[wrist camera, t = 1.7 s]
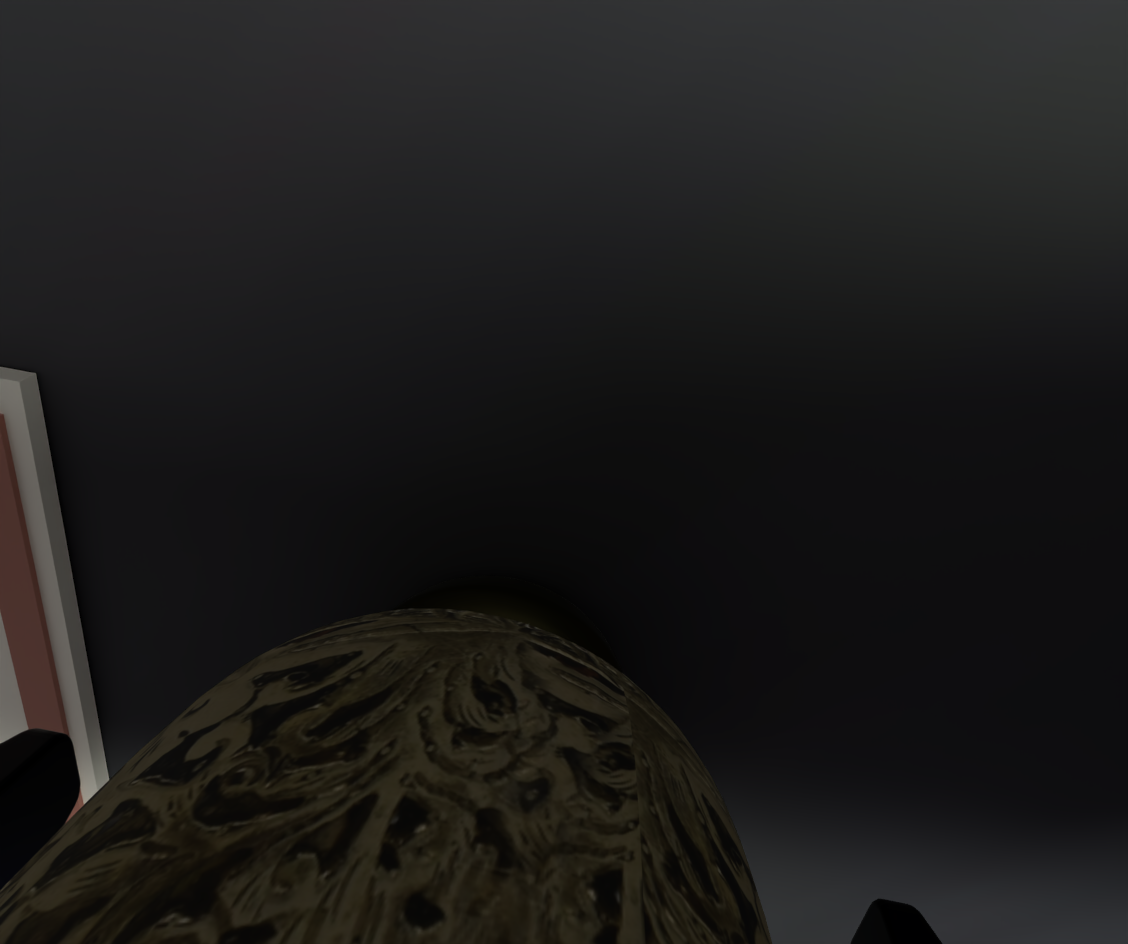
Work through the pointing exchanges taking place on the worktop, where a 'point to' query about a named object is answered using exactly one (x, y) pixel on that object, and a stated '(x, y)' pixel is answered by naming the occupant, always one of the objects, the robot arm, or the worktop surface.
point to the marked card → (40, 593)
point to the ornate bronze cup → (406, 799)
